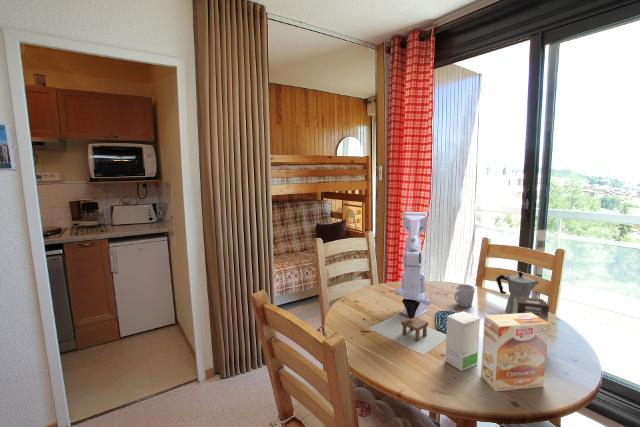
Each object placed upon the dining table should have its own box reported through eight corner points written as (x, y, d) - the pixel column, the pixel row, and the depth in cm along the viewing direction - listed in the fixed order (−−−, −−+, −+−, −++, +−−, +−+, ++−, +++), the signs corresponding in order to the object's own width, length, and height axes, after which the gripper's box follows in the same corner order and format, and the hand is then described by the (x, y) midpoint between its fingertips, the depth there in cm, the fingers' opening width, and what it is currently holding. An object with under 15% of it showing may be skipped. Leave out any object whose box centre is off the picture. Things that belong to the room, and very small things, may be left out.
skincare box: (461, 372, 96) (463, 324, 94) (443, 360, 102) (445, 315, 100) (478, 364, 100) (481, 317, 98) (461, 353, 106) (463, 309, 103)
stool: (401, 321, 117) (417, 328, 112) (412, 315, 122) (428, 322, 116) (401, 334, 118) (417, 342, 112) (411, 328, 122) (428, 335, 117)
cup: (477, 306, 141) (478, 288, 140) (461, 310, 137) (462, 292, 136) (463, 300, 148) (464, 283, 147) (448, 304, 144) (448, 286, 143)
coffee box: (514, 346, 109) (517, 302, 107) (510, 337, 115) (513, 295, 113) (545, 350, 106) (549, 305, 104) (539, 341, 112) (542, 298, 110)
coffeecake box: (495, 392, 87) (499, 326, 84) (479, 375, 94) (483, 314, 91) (545, 387, 88) (550, 322, 86) (526, 371, 95) (530, 311, 93)
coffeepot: (535, 311, 135) (538, 271, 133) (537, 320, 127) (540, 278, 125) (495, 304, 143) (497, 266, 140) (494, 312, 135) (496, 272, 133)
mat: (396, 314, 134) (396, 314, 134) (450, 337, 116) (450, 336, 116) (368, 328, 123) (368, 328, 123) (423, 355, 105) (423, 355, 105)
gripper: (389, 280, 119) (389, 314, 121) (423, 291, 108) (422, 328, 110) (400, 276, 123) (400, 308, 125) (434, 286, 112) (433, 321, 114)
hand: (411, 317), depth 118 cm, fingers closed
